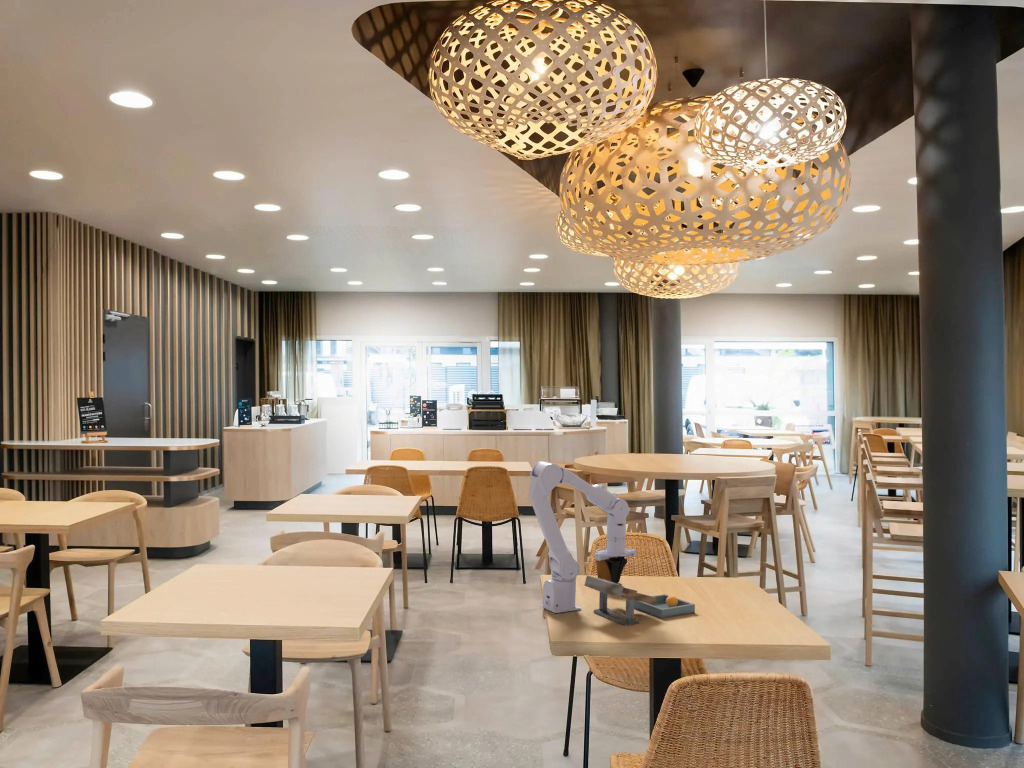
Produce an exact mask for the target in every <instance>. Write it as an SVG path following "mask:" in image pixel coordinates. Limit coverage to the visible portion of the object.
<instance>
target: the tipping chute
mask: <svg viewBox="0 0 1024 768" xmlns="http://www.w3.org/2000/svg"><path fill="white" fill-rule="evenodd" d="M583 586H585V587H587V588H590V589H593V590H594V591H596V592H597V591H598V592H599V593H600V592H603V593H606V594H607V595H611V596H615V597H618V598H624V599H626V598H630V597H631V598H633V599H634V600H636V601H641V602H645V603H649V604H653V605H655V601H656V597H652V596H653V595H649V594H648V595H647V594H643V593H641V592H640V593H639V592H638V590H635V589H631V588H627V587H624V586H623V584H622V583H620V582H618V583H616V582H613V581H610V580H608V581H607V580H604V579H600V578H598V577H595V576H593V575H586V577H585V582H584V584H583Z"/></svg>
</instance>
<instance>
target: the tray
mask: <svg viewBox="0 0 1024 768" xmlns="http://www.w3.org/2000/svg"><path fill="white" fill-rule="evenodd" d="M651 596H652V597H656V601H655V605H653V604H649V603H645V602H641V601H636V600H634V610H638V611H641V612H643V613H646V614H649V615H652V616H654V617H656V618H659V619H666V618H673V617H679V616H684V615H691V614H695V613H696V604H694V603H693V602H692V603H691V602H689V601H687V600H683V599H679V598H677V597H676V598H677V599H678V604H677V606H676V607H669V606H668V605H667V603H666V599H667V597H669V596H670V595H668V594H665V593H664V594H656V595H651Z"/></svg>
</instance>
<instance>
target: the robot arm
mask: <svg viewBox="0 0 1024 768" xmlns="http://www.w3.org/2000/svg"><path fill="white" fill-rule="evenodd" d="M529 474H530V475H529V476H530V482H529V491H528V497H529V500H530V503H531V506H532V508H533V511H534V514H535V516H536V519H537V521H538V524H539V527H540V529H541V532H542V535H543V538H544V540H545V543H546V545H547V548H548V552H547V554H548V557H549V563H548V564H549V565H548V566H549V568H550V570H551V572H552V574H551V578H550V579H547V580H545V581H544V582H543V584H542V604H541V605H540V607H541V608H543V609H545V610H547V611H550V612H552V613H554V614H559V613H567V612H572V611H578V610H582V607H580V606H578V605H576V592H577V591H576V588H577V586H576V585H577V584H576V583H577V576H578V575H579V573H580V565H579V562H578V561H577V560H576V559H574V558H573V555H572V553H571V551H570V550H569V548H568V547H567V545H566V543H565V540H564V538H563V534H562V532H561V528H560V527H559V524H558V522H557V518H556V516H555V513H554V511H553V510H554V509H553V508H552V506H551V503H550V500H549V496H550V494H551V492H552V490H554V488H555V487H556V486H558V484H559V483H560V484H567V485H569V486H571V487H573V488H574V489H575V490H578V491H579V492H582V493H583V494H585V497H586V500H587V501H588V502H590V503H591V504H593V505H594V506H596V507H598V508H600V509H601V510H602V511H603V512H605V514H606V515H607V517H606V519H607V520H606V549H607V550H606V551H603V552H599V553H594V554H595V555H594V560H595V561H596V560H598V561H601V560H604V561H605V562H606V564H607V567H608V569H609V572H610V576H611V581H613V582H616V583H617V582H618V583H620V581H621V576H622V573H623V570H624V568H625V567H626V565H627V563H628V558H627V557H637V549H633V548H626V539H627V538H626V537H627V533H626V531H627V516H628V515H629V514H630V510H631V508H630V507H629V504H628V502H627V501H626V500H625V499H622V498H620V497H618V495H617V494H616V493H615V492H611V491H609V490H607V489H606V486H605V485H603V484H601V483H600V484H596V483H595V484H590V483H588V482H587V481H586V480H584V479H583V478H581V477H579V476H578V475H577V474H575V473H573V472H572V471H571V470H568V469H566V468H564V467H562V466H560V465H559V464H556V463H551V462H548V461H546V460H540V461H538V462H536V463H535V465H533V468H532V469H531V471H530V472H529Z"/></svg>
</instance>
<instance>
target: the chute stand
mask: <svg viewBox="0 0 1024 768" xmlns="http://www.w3.org/2000/svg"><path fill="white" fill-rule="evenodd" d="M598 600H599V602H598V607H599V608H596V609H593V613H594V614H596V615H598V616H601V617H603V618H606V619H608V620H610V621H613V622H614V623H615V622H616V623H618V624H620V625H623V626H632V625H639V624H640V620H639V619H636V618H634V617H635V616H634V615H635V608H634V599H633V598H631V597H630V598H625V613H621V612H619V611H616V610H614V609H612V608H609V607H608V594H606V593H603V592H600V591H599V599H598Z"/></svg>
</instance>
